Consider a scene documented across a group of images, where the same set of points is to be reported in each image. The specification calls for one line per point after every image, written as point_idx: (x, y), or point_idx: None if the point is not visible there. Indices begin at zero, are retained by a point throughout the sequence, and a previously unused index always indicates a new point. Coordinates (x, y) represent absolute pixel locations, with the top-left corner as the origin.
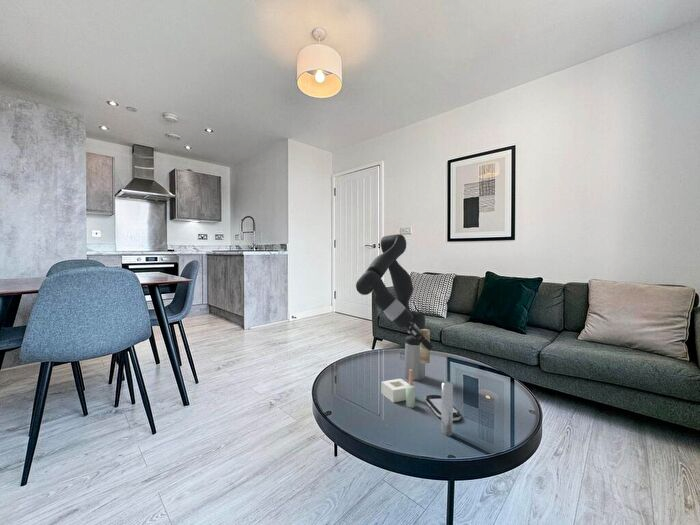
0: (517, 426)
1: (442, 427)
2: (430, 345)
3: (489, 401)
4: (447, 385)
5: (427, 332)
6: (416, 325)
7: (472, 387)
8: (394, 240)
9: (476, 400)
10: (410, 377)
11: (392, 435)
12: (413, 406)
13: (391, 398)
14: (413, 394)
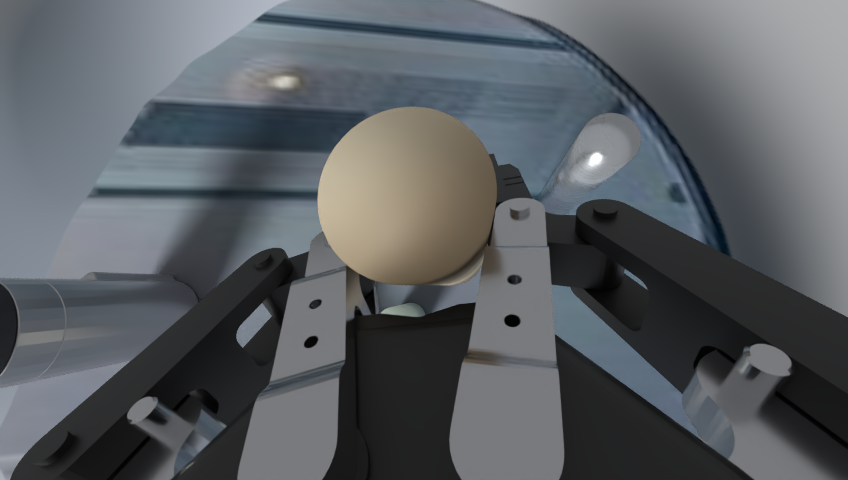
0: (451, 24)
1: (568, 211)
2: (518, 170)
3: (315, 79)
4: (639, 137)
5: (478, 150)
6: (339, 377)
7: (224, 120)
8: None
9: (318, 114)
10: None
11: (631, 366)
12: (421, 308)
13: None
14: (413, 311)
